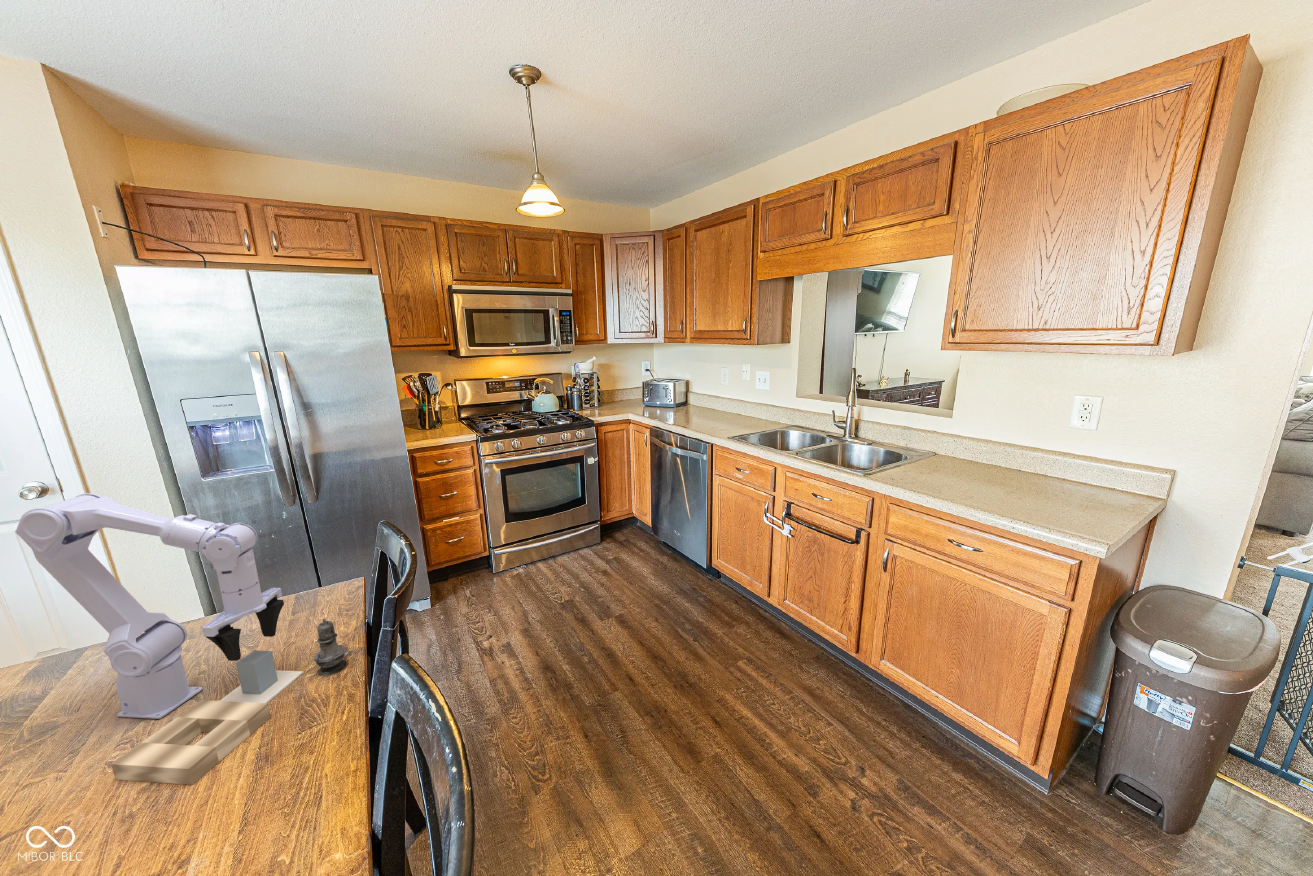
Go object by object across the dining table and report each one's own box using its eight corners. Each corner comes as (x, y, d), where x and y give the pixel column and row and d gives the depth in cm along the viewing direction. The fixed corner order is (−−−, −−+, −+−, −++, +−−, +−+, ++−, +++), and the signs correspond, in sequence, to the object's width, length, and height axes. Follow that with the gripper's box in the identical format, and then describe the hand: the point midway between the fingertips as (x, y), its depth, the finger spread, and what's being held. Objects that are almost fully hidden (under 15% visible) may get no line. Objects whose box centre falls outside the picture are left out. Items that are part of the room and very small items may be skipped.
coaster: (215, 705, 91) (214, 704, 91) (261, 671, 101) (261, 669, 101) (261, 708, 90) (261, 706, 90) (303, 673, 100) (303, 671, 100)
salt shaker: (331, 678, 98) (323, 628, 96) (309, 675, 99) (299, 625, 97) (354, 660, 104) (346, 612, 102) (333, 657, 105) (324, 609, 103)
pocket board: (115, 779, 76) (110, 764, 75) (204, 713, 89) (201, 700, 89) (192, 784, 74) (188, 769, 74) (270, 717, 88) (268, 703, 87)
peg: (242, 693, 94) (235, 663, 93) (260, 679, 98) (254, 650, 96) (260, 694, 93) (254, 663, 92) (278, 680, 97) (272, 651, 96)
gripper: (221, 606, 84) (235, 672, 86) (290, 569, 98) (300, 626, 101) (186, 605, 85) (201, 670, 87) (259, 568, 99) (271, 625, 101)
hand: (252, 647), depth 94 cm, fingers open, 7 cm apart
